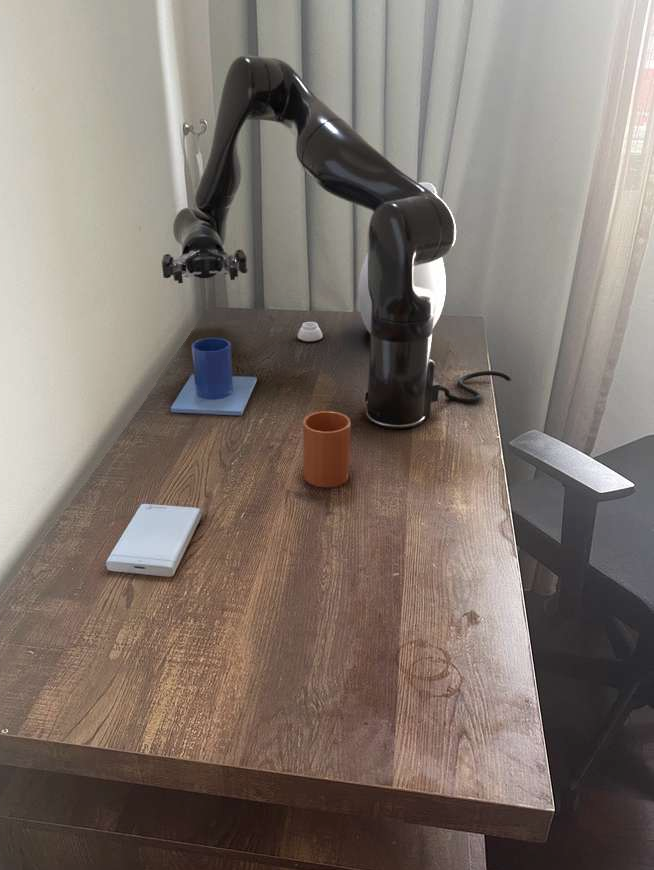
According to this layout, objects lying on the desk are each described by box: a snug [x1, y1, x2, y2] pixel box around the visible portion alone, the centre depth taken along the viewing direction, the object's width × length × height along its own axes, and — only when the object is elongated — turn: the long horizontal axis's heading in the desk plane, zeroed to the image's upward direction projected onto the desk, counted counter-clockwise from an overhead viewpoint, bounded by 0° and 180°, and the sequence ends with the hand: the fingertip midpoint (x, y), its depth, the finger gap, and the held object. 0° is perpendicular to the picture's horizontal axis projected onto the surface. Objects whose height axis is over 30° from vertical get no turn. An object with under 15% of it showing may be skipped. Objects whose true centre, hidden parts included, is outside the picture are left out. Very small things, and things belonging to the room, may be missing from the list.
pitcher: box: [357, 181, 447, 334], centre depth 139 cm, size 24×17×28 cm
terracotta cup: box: [302, 410, 352, 488], centre depth 102 cm, size 6×6×8 cm
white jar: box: [297, 321, 323, 342], centre depth 149 cm, size 5×3×5 cm
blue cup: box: [191, 337, 234, 400], centre depth 125 cm, size 6×6×8 cm
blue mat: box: [169, 374, 258, 417], centre depth 127 cm, size 14×12×1 cm
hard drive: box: [105, 503, 202, 578], centre depth 91 cm, size 2×8×12 cm
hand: (206, 275), depth 120 cm, fingers open, 8 cm apart
